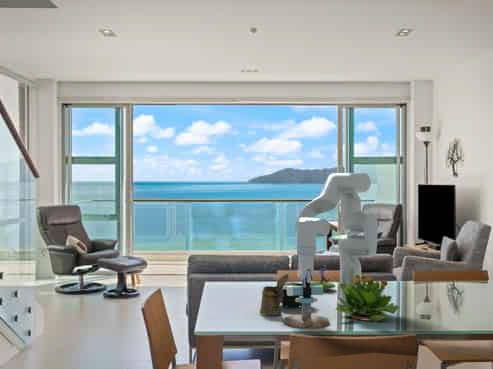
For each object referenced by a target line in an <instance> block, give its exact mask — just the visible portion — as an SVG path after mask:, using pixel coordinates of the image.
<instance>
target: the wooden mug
mask: <svg viewBox="0 0 493 369" xmlns="http://www.w3.org/2000/svg"><path fill="white" fill-rule="evenodd" d="M288 280H289V274H288V273H285V274H284V275H283V276H281V277H280V278H279V279H278V281H277V283H276V285H275V286H276V287H275V286H269V285H268V286H267V285H266V286H264V287H262V288H263V289H262V291H261V294H262V295H261V296H262V297H261V303H260V309H259V313H261V314H265V315H277V314H280V315H281V314H282V309H281V304H282V303H281V301H282V299H283V296H284V293H283V289H282V286H283V285H284V284H286V283H288V282H287V281H288ZM279 294H280V297H279V296H278V295H279ZM277 316H278V315H277Z"/></svg>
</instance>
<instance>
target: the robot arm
mask: <svg viewBox="0 0 493 369" xmlns="http://www.w3.org/2000/svg"><path fill="white" fill-rule="evenodd" d="M371 184H372V180H371V177H370V175H369V174H368V173H366V172H334V173H331V174H329V175H328V176H327V178H326V180H325V182H324V184H323V186H322V188H321V191H320V193H319V195H318V196H317V197H316V198H315V199H313V200H311V201H310V202H309V203H308V204H306V205H305V206H304V207H303V208H302V209H301V210H300V212H299V214H298V216H297V219H296V221H295V226H294V227H295V228H294V229H295V232H296V255H298V262H297V264H298V265H297V266H298V267H297V278H299V280H300V281H301V284H302V286H304V288H303V295H302V296H303V298H311V297H312V295H311V283H312V281H313V280H314V275H315V274H314V273H315V271H314V270H315V268H314V263H315V262H314V261H315V260H314V256H315V255H317V237H318V238H319V237H320V238H322V237H326V236H328V235H329V233H330V231H331V224H330V222H329V220H327V219H326V218H321V217H317V218H316V216H318V215H321V214H324V213H326V212H329V211H332V210H334V209H335V208H337V206H338V203H339V200H340V198H341V227H342V229H343V230H344V231H347V232H350V233H363V234H364V235H361V234H360V235H359V234H358V235H357V234H344V235H341V236H340V237H339V239H338V242H337V248H338V254H339V286H340V284H341V283H343V284H344V283H345V284H346V285H351V287H352V285H354V286H355V285H356V284H354V283H353V280H355V275H360V277H361V276H362V264H361V261H360V260H359V259H358V258H359V257H363V258H372V257H374V256H375V255H376V253H377V250H378V249H377V248H378V220H377V219H378V218H377V216H376V214H375V213H374V212H373V211H367V210H366V211H365V210H364V211H362V200H361V197H360V196H359V194H360V193H366V192H368V190H369V189H370V188H371ZM358 278H359V277H358ZM360 280H361V281H362V279H361V278H360ZM360 284H362V283H360ZM340 287H341V286H340ZM340 287H339V297H340V298H341V299H342V300H344V301H345V302H346V297H345V293H344V292H343V289H342V288H340ZM355 287H357V286H355ZM336 305H339V306H340V307H341V306H342V307H345V306H344V305H343V304H342V303H341V302H340V301H339V299H337V300H336Z"/></svg>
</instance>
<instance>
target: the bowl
mask: <svg viewBox="0 0 493 369" xmlns="http://www.w3.org/2000/svg"><path fill="white" fill-rule="evenodd" d="M276 286H277V285H275V286H274V287H276ZM287 286H302V282H301V283H299V282H289V283H288V282H286V283H285V284H284V285H283V286H282V289H283V293H284V296H283V299H282V301H281V303H280V304H282V306H283V307H284V306H287V307H299V306H302V303H299V302H296V301H295V298H299V297H300V296H302V295H293V296H288V295H287ZM278 296H279V297H280V294H279V295H278ZM287 307H286V308H287ZM299 308H300V307H299Z"/></svg>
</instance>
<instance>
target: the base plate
mask: <svg viewBox="0 0 493 369" xmlns="http://www.w3.org/2000/svg"><path fill="white" fill-rule="evenodd" d="M284 323H285V324H287V325H289V326H288V327H290V326H292V327H291V328H295V327H296V328H297V329H306V328H311V329H320V328H319V327H322V328H325V327H327V326H326V325H328V324H329V325H330V320H329V318H328V317H325V316H322V315H318V314H317V315H315V314H312V303H310V304H304V303H302V307H301V311H300V314H292V315H288V316H285V317H284V318H283V324H284ZM285 324H284V325H285ZM287 325H286V326H287ZM329 325H328V326H329ZM324 326H325V327H324Z"/></svg>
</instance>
